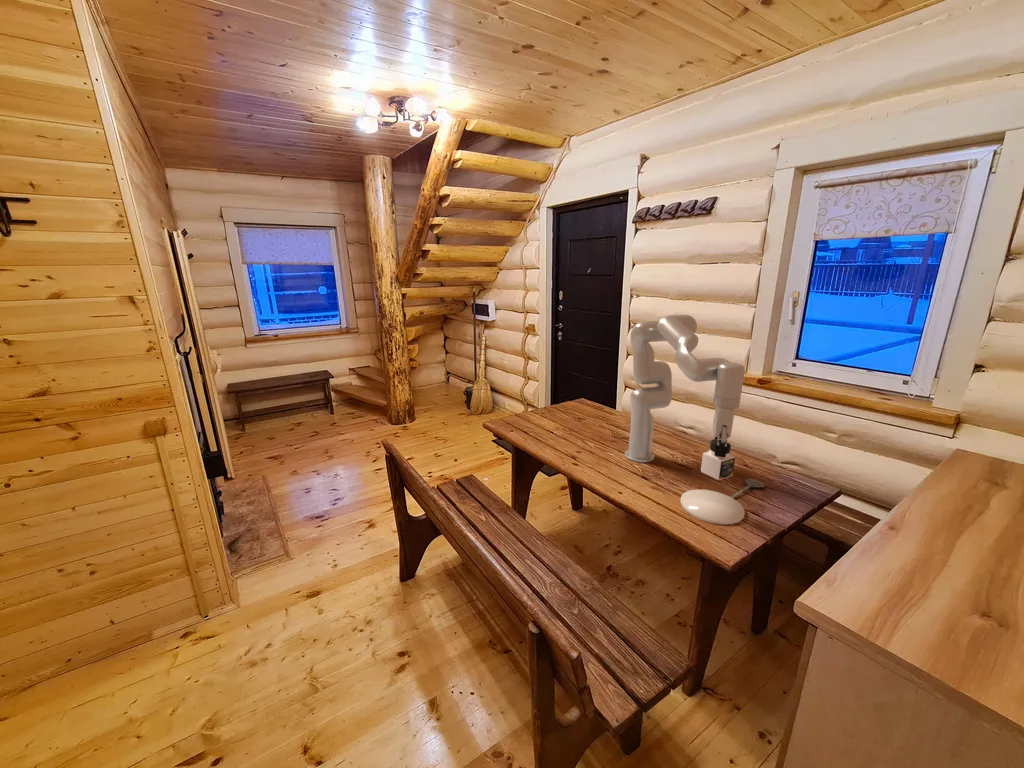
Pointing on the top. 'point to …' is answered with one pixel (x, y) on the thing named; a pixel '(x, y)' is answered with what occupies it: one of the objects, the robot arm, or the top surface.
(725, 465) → the medicine bottle
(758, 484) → the grey spatula
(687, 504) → the dish
